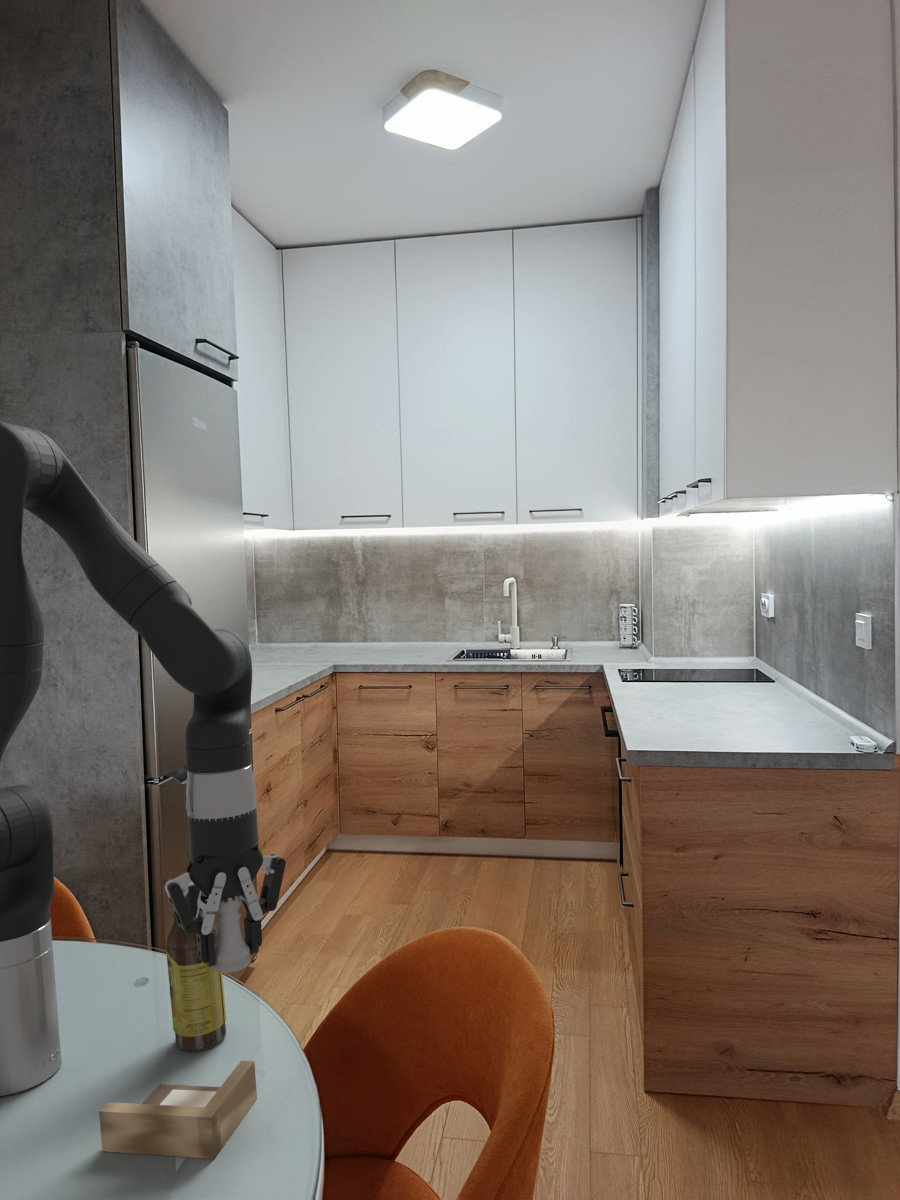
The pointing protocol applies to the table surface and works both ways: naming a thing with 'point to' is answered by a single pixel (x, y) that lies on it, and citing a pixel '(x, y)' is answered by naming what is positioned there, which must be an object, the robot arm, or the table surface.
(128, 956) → the table surface
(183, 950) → the sauce bottle
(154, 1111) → the wooden tray
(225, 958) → the rook chess piece
